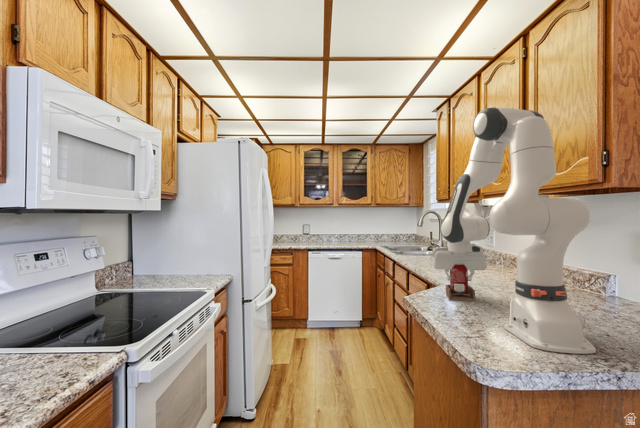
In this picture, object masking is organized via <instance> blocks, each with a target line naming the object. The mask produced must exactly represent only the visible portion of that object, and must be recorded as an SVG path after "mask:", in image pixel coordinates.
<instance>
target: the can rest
mask: <svg viewBox="0 0 640 428" xmlns="http://www.w3.org/2000/svg"><path fill="white" fill-rule="evenodd" d="M445 296H446V297H447V298H448V301H456V302H457V301H459V302H476V290H475V289H474V288H473V287H472V286H471V285H469V284H468V291H467V292H466V293H455V292H453V291H451V290H450V284H445Z"/></svg>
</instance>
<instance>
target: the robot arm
mask: <svg viewBox="0 0 640 428" xmlns="http://www.w3.org/2000/svg"><path fill="white" fill-rule="evenodd" d="M472 131H473V135H475V138H474V141H473V143H472V147H471V150H470V154H469V160H468V163H467V166H466V169H465V171H464V172H463V174H462V175H459V177H458V178H457V180H456V183H455V185H454V189H453V192H452V195H451V199H450V201H449V204H448V207H447V210H446V214H445V216H444V218H443V219H442V220H441V221H442V222H441V225H440V228H439V231H440V233H441V236H442V237H443V239H445V240H446V241H447V242H446V245H447V246H441V247H440V246H437V247H435V248H433V250H432V257H433V264H432V265H433V268H434V270H444V273H445V274H446V277H447V280H448V281H450V280H451V276H450V270H452V267H453V266H454V265H455V264H464V265H465V266H466V268H467V270H468V271H469V273H470V274H468V282H472V277H473V276H474V274H475V271H485V270H486V269H487V268H488V267H487V265H488V263H487V259H486V255H485V254H484V253H483V252H484V247H482V246H480V245H477V244H475V243H471V242H474V241H482V240H485V239H486V238H487V237H488V236H489V234H490V231H491V230H490V229H491V227H490V225H491V226H492V228H493V230H495V231H496V232H497V233H500V234H505V235H511V236H535V237H534V241H533V242H532V243H531V245H530V246H528V247H526V248H524V249H523V250H521V251H520V252H518V254H517V256H516V280H515V282H514V283H515V284H514V288H515V290H514V291H515V294H516V295H515V296H514V297H513V298H512V299H511V300H510V305H509V323H505V324H504V325H503V327H504V328H503V329H505V330H506V331H508V332H509V333H510V334H512V335H513V336H515V337H517V338H518V339H520V340H521V341H522V342H524V343H526V344H527V345H528V346H531V347H532V348H534V349H539V350H543V351H547V352H548V351H549V352H555V353H565V354H580V355H581V354H583V355H586V354H587V355H588V354H595V353H597V349H596V347H595V346H594V345H593V344H592V343H591V342H590V341H589V340H588V339H587V338H586V337H585V335H584V333H583V329H584V328H585V327H586V322H585V319H583V318H578V316H577V313H576V310H573V308H572V307H571V305H570V304H569V302H568V299H569V298H568V294H567V289H566V286H565V284H564V260H565V259H564V258H565V254H566V251H567V249H568V248H569V246H570V244H571V242H572V241H573V239H574V238H576V237H577V235H579V234H580V233H581V232H583V231H584V230H585V229H587V227H588V226H589V224H590V221H591V212H590V209H589V208H588V206H587V205H586V203H585V202H583V201H582V200H580V199H574V198H568V197H539V192H540V188H541V187H543V186H545V185H547V184H548V183H550V182H552V180H553V179H554V178H555V176H556V175H557V167H556V166H557V165H556V164H557V163H556V157H555V148H554V140H553V137H552V133H551V130H550V127H549V124H548V121H547V120H546V119H545V118H544V116H543V115H542V114H541V113H540V112H537V111H534V110H530V109H529V110H526V109H518V108H514V107H487V108H483V109H482V110H480V111H479V112H478V113H477V115H475V117H474V119H473V123H472ZM507 147H509V160H510V181H509V186H508V187H507V188H508V189H507V190H506V192H505V194H504V195H503V196H502V197H501V198H500V199H499V200H498V201H496V202H495V203H494V204H493V205H492V207H491V208H490V211H489V222H488V220H487V219H486V218H485V217H483V216H480V215H477V214H474V213H472V212H471V211H470V210H469V209H468V208H467V207H466V206H467V203H468V200H469V198H470V196H471V195H472V194H473V193H474V192H476V191H478V190H479V189H482V188H484V187H486V186H489V185H491V184H492V183H494V182H496V181H497V180H498V178H499V176H500V175H501V171H502V166H503V162H504V156H505V155H504V154H505V150H506V149H507ZM454 263H455V264H454Z"/></svg>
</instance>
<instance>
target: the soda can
mask: <svg viewBox="0 0 640 428" xmlns="http://www.w3.org/2000/svg"><path fill="white" fill-rule="evenodd" d="M454 264H455V263H454ZM468 273H469V270H467V268H466V266H465V265H464V264H455V265H454V266H453V267H452V270H449V276H451V280H449V282H450V283H449V285H450V290H451V291H453V292H455V293H466V292H467V291H468V285H469V281H468V276H469V274H468Z"/></svg>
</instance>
